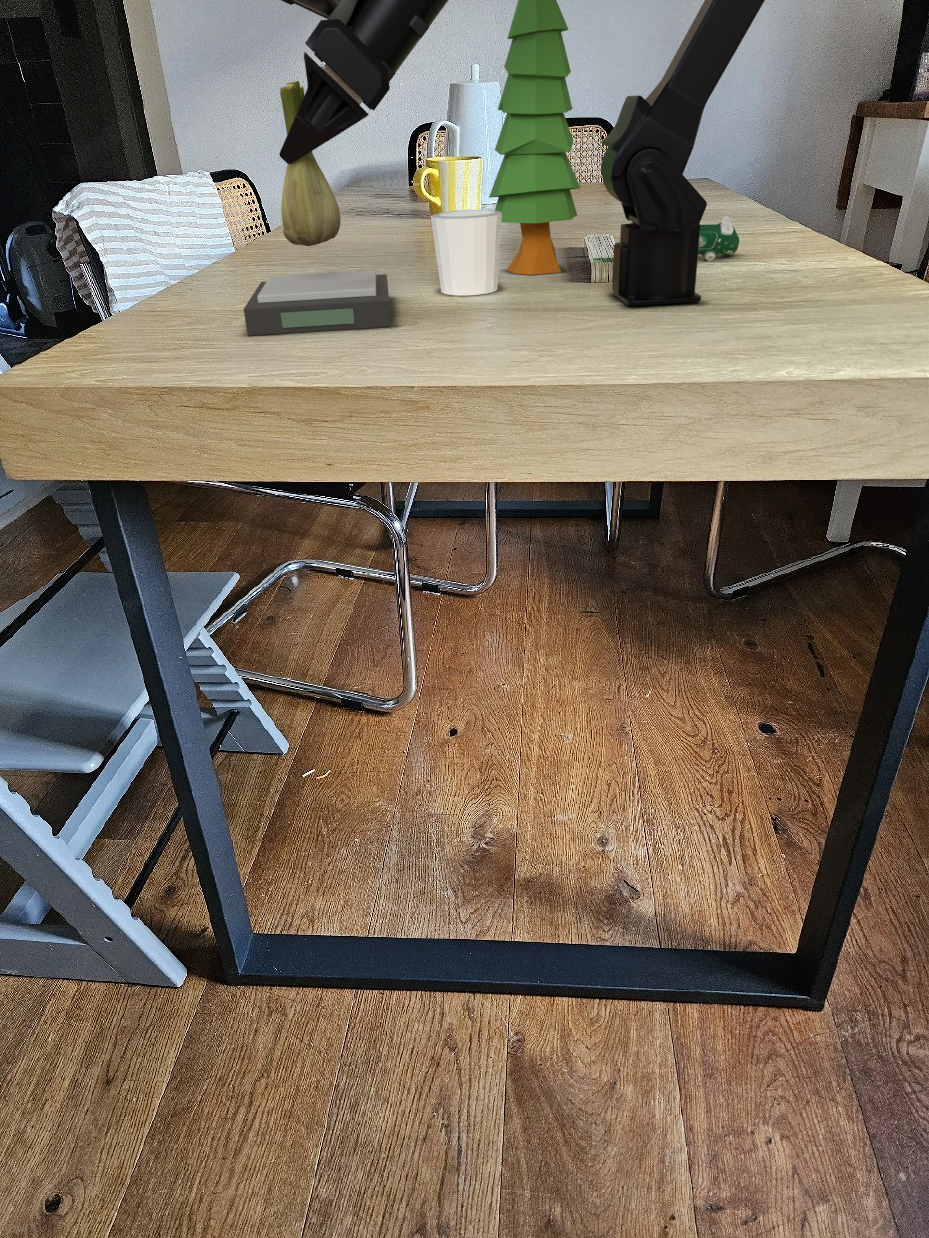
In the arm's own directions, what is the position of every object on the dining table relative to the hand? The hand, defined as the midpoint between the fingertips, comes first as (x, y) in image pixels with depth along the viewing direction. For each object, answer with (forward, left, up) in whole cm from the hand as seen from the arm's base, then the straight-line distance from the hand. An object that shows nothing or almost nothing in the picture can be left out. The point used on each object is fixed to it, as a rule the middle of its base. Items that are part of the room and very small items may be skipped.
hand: (286, 158), depth 73 cm
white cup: (-15, -9, -13) cm, 22 cm away
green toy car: (-41, -19, -13) cm, 47 cm away
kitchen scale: (-1, -1, -13) cm, 13 cm away
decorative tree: (-23, -19, -13) cm, 33 cm away
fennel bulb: (-1, 0, -7) cm, 7 cm away
